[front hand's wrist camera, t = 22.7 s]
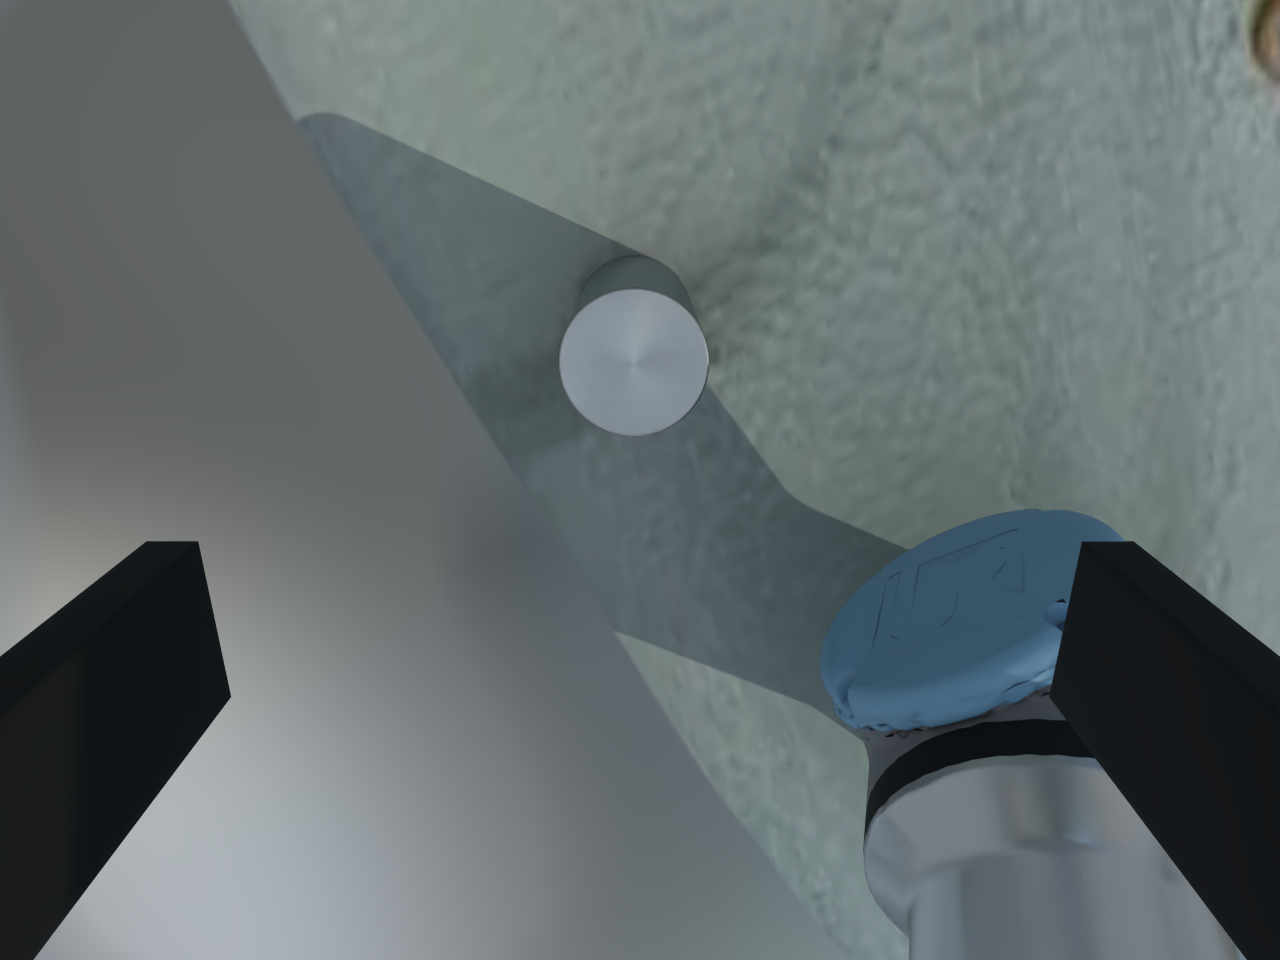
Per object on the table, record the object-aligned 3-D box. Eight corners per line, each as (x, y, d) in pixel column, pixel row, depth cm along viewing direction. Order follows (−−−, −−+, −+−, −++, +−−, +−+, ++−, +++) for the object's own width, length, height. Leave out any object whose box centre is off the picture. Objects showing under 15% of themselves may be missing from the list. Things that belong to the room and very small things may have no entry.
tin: (652, 232, 42) (658, 257, 31) (711, 331, 43) (737, 388, 32) (556, 295, 43) (528, 340, 32) (617, 389, 44) (611, 463, 33)
